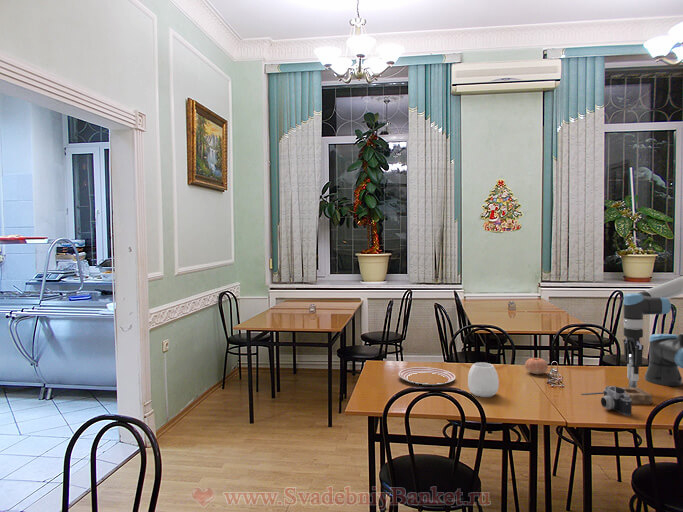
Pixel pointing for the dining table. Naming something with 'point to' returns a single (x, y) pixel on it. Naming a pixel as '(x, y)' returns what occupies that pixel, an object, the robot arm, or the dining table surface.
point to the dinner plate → (415, 370)
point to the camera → (616, 400)
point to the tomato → (536, 365)
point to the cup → (483, 380)
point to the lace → (592, 393)
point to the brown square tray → (638, 395)
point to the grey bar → (631, 383)
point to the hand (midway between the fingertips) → (632, 379)
